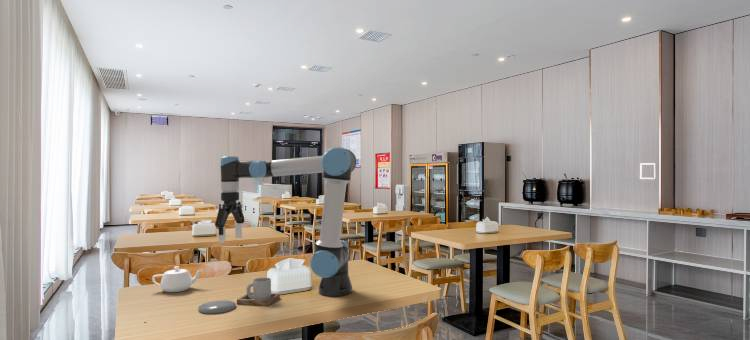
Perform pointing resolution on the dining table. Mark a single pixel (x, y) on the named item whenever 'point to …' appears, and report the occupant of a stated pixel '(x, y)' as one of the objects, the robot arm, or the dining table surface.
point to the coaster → (216, 307)
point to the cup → (260, 289)
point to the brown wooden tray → (258, 302)
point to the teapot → (176, 280)
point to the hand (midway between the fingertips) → (230, 240)
